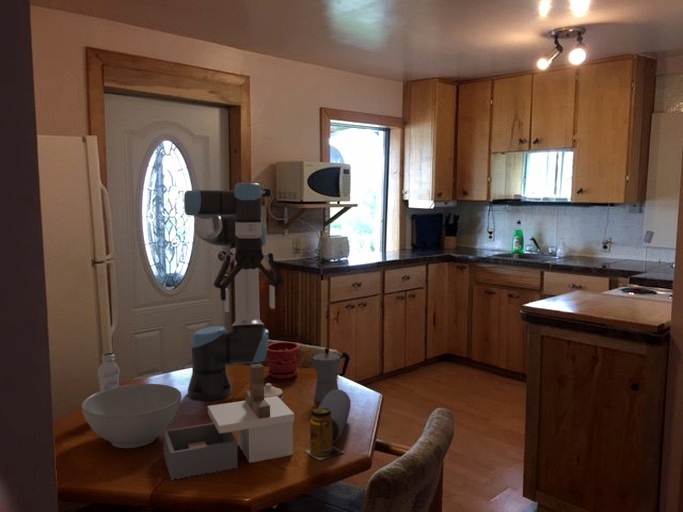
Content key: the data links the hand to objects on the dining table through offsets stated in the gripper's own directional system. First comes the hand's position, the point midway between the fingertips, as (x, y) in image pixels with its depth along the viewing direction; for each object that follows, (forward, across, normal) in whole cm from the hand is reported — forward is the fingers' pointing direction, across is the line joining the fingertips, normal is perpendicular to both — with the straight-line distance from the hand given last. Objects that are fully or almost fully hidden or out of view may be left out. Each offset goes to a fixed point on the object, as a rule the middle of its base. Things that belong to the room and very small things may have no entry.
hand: (249, 309), depth 167 cm
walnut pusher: (+25, -2, -14) cm, 28 cm away
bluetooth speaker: (+37, +21, -11) cm, 44 cm away
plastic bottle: (+37, -38, +30) cm, 61 cm away
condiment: (+37, +14, -22) cm, 45 cm away
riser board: (+37, -5, -14) cm, 40 cm away
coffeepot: (+37, +32, +16) cm, 51 cm away
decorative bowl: (+37, -32, +8) cm, 50 cm away
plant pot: (+37, +25, +47) cm, 65 cm away
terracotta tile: (+34, -18, -11) cm, 40 cm away
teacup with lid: (+37, +8, +7) cm, 38 cm away
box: (+37, -18, -14) cm, 43 cm away
